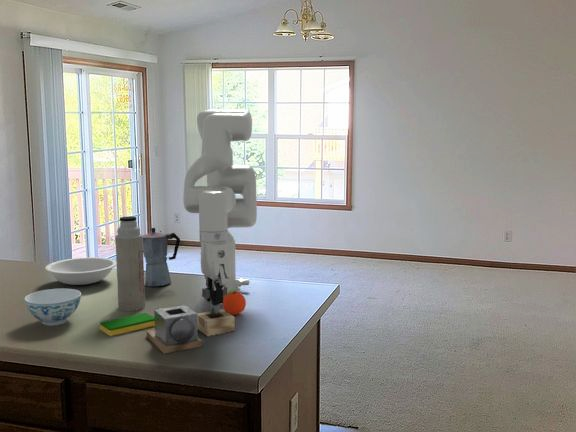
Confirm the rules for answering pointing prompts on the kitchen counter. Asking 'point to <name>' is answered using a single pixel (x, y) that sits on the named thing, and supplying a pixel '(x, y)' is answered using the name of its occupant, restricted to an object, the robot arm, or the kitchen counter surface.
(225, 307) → the clementine
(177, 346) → the board
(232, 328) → the wooden square frame
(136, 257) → the thermos bottle
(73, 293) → the chinaware
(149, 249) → the moka pot
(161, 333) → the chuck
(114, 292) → the kitchen counter surface
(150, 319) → the dish sponge
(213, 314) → the chuck key
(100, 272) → the soup bowl
